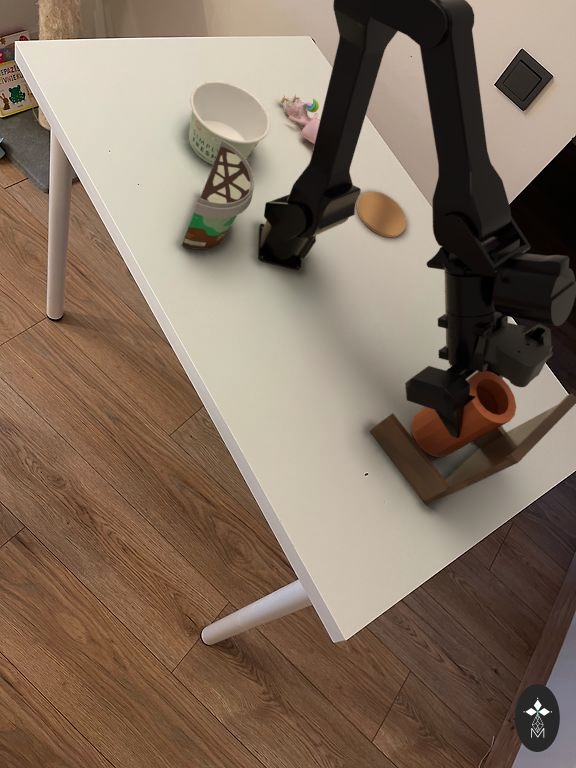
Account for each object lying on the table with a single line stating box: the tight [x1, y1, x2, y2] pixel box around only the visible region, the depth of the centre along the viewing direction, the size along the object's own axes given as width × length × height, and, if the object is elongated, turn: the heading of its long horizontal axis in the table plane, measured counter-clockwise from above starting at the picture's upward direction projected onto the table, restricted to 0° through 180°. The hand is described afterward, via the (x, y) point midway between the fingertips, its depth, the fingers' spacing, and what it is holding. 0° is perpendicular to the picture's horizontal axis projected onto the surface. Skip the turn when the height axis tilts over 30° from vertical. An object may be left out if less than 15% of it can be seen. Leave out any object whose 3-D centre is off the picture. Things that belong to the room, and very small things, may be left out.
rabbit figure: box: [279, 93, 321, 145], centre depth 98 cm, size 6×6×15 cm
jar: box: [411, 371, 517, 458], centre depth 75 cm, size 7×7×12 cm
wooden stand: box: [369, 393, 576, 506], centre depth 74 cm, size 12×15×17 cm
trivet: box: [356, 191, 407, 238], centre depth 98 cm, size 9×9×1 cm
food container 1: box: [188, 80, 271, 166], centre depth 88 cm, size 12×12×6 cm
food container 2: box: [181, 140, 255, 250], centre depth 79 cm, size 12×6×10 cm, turn 168°
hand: (471, 422), depth 74 cm, fingers closed on jar, 7 cm apart
